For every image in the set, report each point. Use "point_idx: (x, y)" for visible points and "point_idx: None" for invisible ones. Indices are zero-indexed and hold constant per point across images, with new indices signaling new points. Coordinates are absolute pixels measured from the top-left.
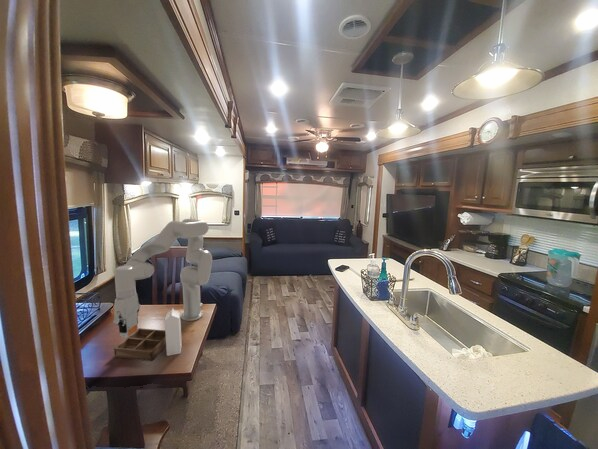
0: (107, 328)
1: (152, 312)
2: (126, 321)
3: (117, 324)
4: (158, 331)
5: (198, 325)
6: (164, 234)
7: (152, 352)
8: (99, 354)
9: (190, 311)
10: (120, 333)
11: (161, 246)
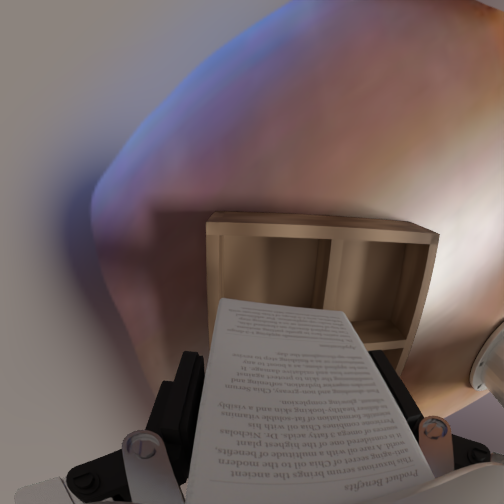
0: (432, 18)
1: None
2: None
3: (95, 467)
4: (396, 361)
5: (436, 408)
6: None
7: None
8: (228, 102)
9: (497, 388)
10: (216, 321)
11: None
